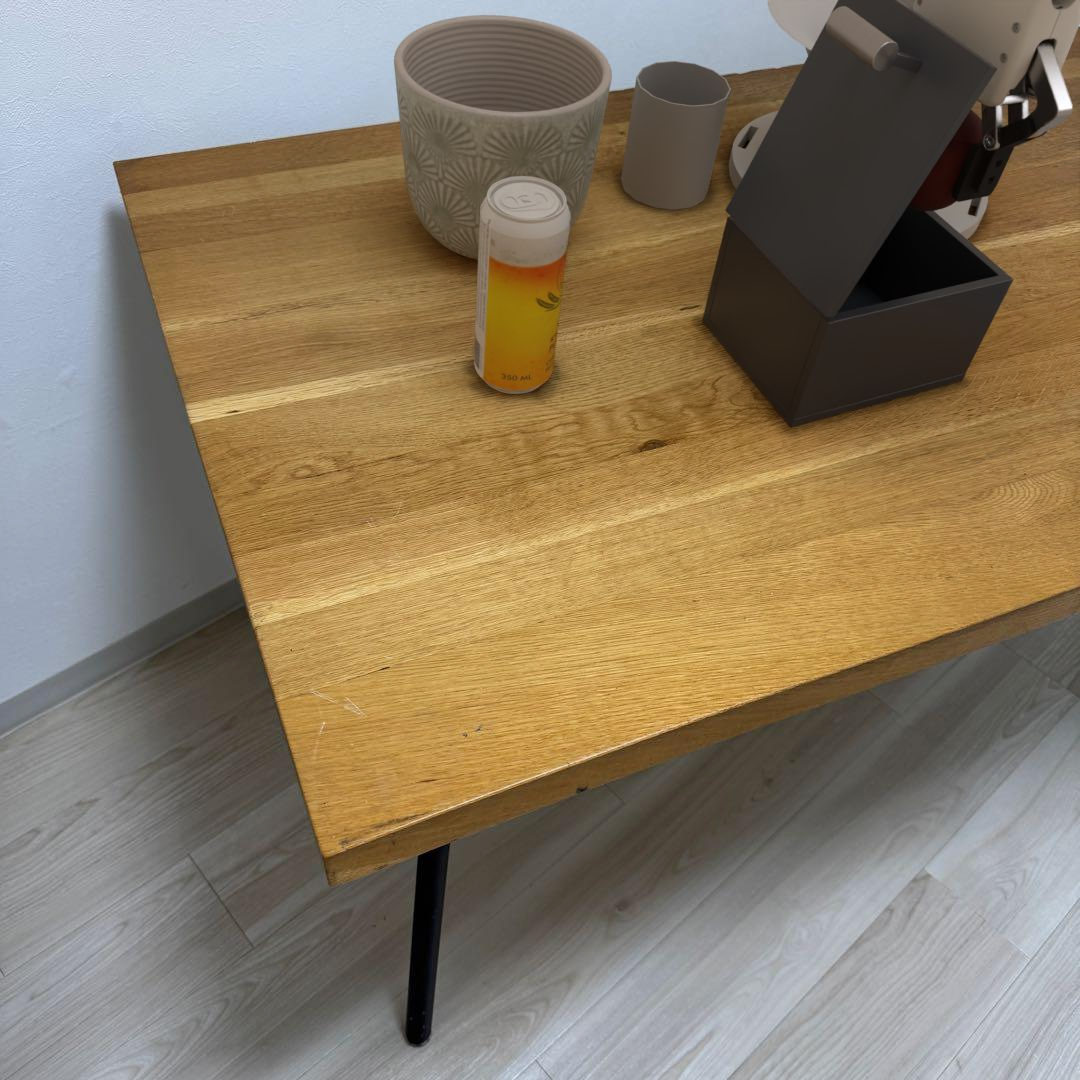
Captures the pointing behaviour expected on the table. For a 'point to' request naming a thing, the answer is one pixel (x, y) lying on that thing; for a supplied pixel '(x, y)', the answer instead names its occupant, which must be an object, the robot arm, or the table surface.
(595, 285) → the table surface
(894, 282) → the open box
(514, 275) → the beer can
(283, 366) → the table surface
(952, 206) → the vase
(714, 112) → the cup
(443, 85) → the planter
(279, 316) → the table surface
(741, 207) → the box lid
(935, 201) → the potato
